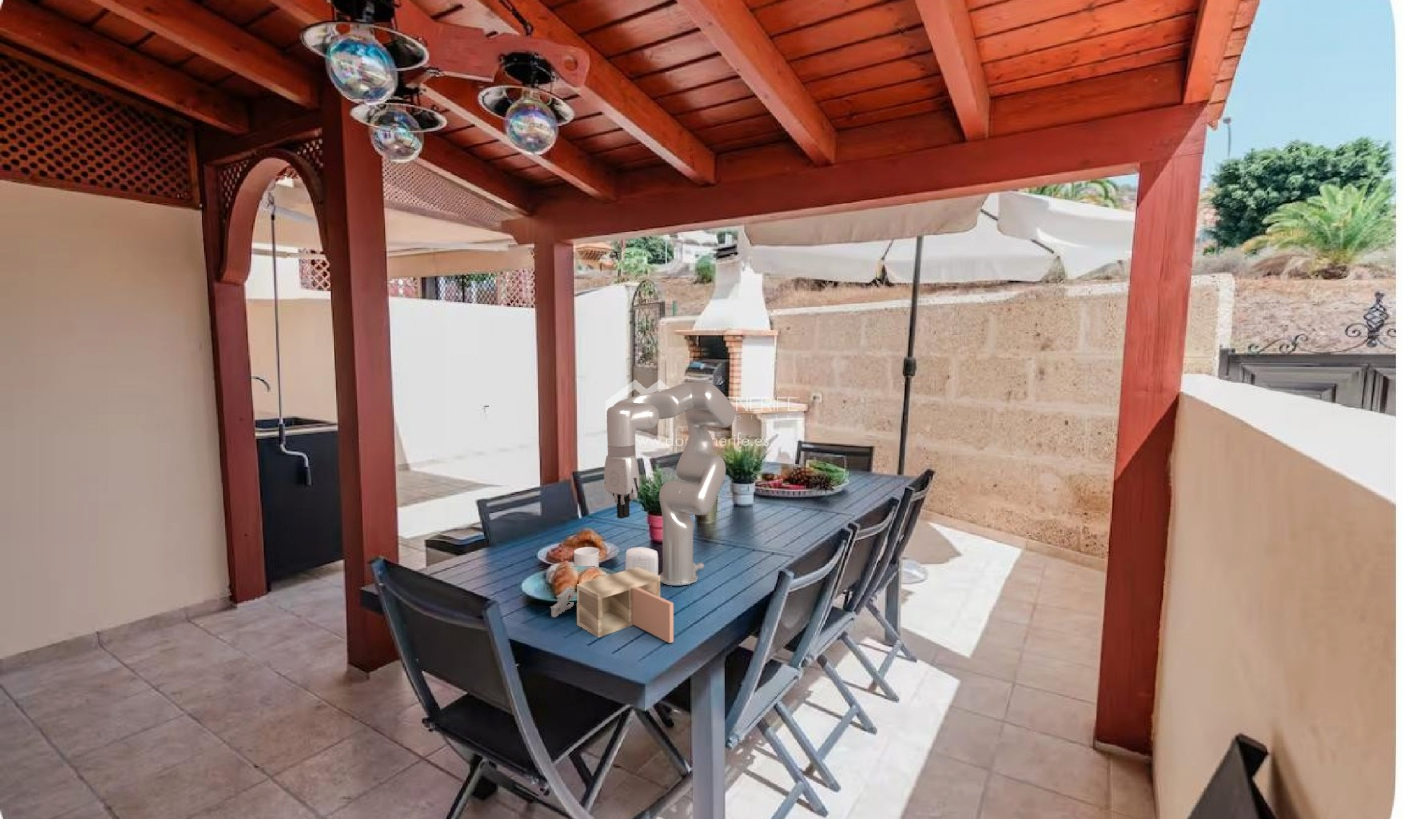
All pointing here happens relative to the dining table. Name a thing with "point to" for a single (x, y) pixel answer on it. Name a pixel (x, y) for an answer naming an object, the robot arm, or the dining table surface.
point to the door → (652, 614)
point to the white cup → (586, 557)
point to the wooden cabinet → (612, 600)
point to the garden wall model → (562, 602)
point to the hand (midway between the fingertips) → (623, 517)
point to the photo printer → (642, 559)
